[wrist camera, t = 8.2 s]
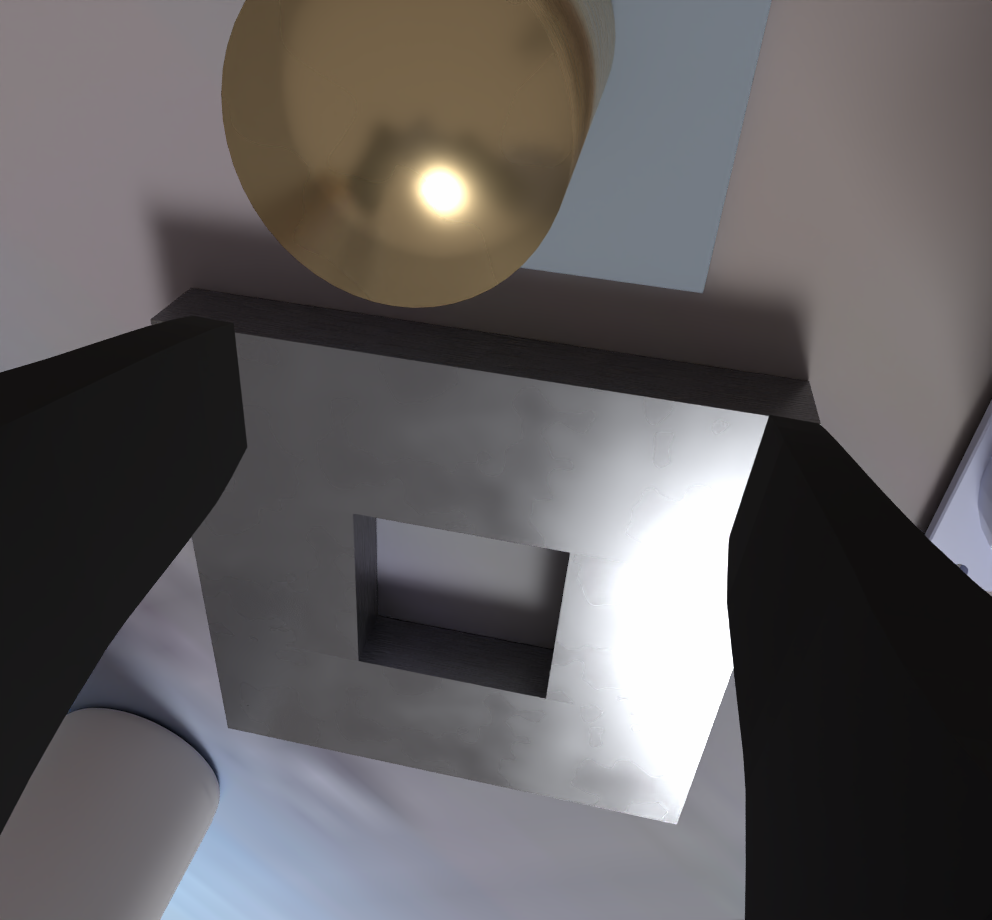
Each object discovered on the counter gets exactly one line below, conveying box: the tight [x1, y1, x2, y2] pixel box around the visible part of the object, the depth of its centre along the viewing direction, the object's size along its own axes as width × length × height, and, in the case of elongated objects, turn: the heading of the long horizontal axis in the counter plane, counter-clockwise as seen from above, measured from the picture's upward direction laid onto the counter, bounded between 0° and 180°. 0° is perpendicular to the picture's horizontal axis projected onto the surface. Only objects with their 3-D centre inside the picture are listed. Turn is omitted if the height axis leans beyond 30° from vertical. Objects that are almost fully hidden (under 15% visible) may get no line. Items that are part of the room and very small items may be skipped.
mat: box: [520, 0, 772, 293], centre depth 16 cm, size 10×10×1 cm
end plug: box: [221, 0, 615, 308], centre depth 13 cm, size 4×4×8 cm
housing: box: [151, 288, 821, 824], centre depth 24 cm, size 16×16×2 cm
